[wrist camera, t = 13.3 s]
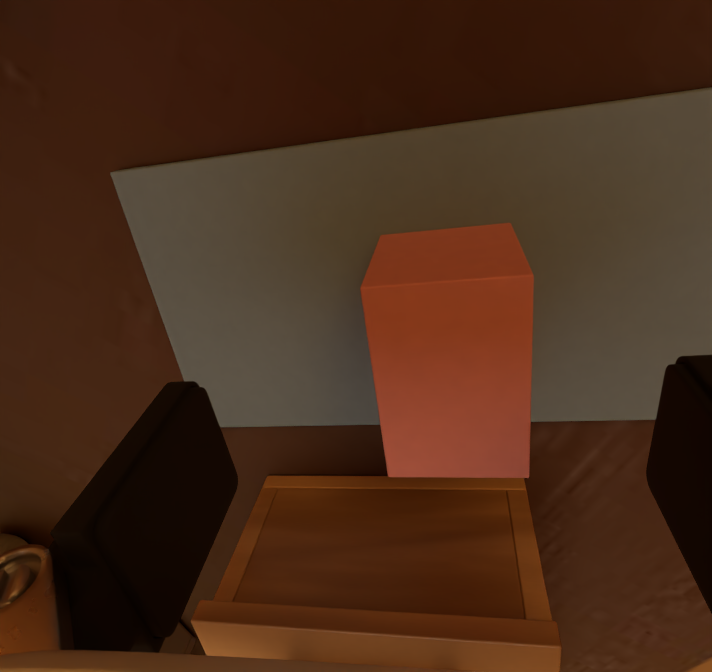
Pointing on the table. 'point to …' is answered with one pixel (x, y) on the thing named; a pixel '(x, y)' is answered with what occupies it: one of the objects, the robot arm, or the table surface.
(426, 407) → the eraser
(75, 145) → the table surface
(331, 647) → the lid
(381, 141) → the mat
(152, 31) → the table surface
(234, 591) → the pencil box
